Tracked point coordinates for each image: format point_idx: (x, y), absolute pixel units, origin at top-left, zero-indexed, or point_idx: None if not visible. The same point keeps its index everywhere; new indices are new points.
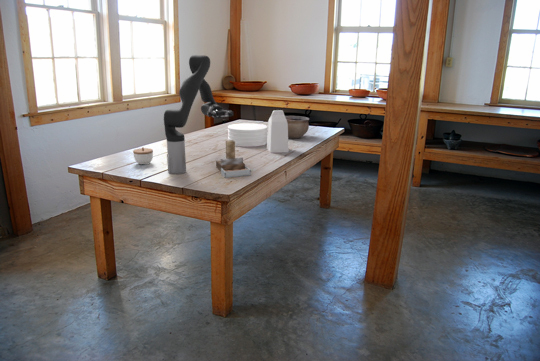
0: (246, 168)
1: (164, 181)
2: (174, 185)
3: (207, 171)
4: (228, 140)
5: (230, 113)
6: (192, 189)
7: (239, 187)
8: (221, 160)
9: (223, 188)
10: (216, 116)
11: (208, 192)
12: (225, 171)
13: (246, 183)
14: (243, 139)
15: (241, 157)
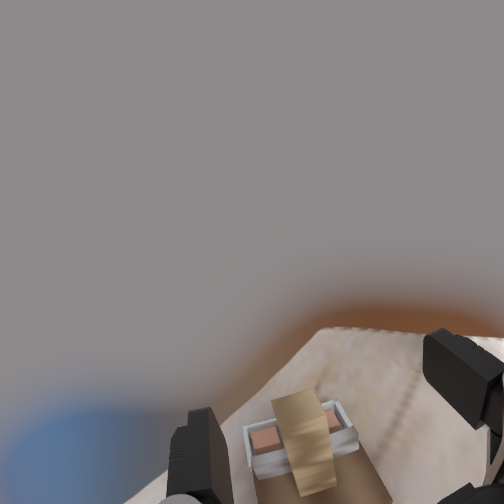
0: (252, 454)
1: (500, 350)
2: None
3: (418, 462)
4: (308, 420)
5: (205, 408)
6: (405, 332)
7: (296, 358)
8: (353, 427)
9: (334, 349)
10: (423, 363)
11: (364, 328)
12: (336, 418)
13: (275, 380)
14: None
15: (256, 465)
